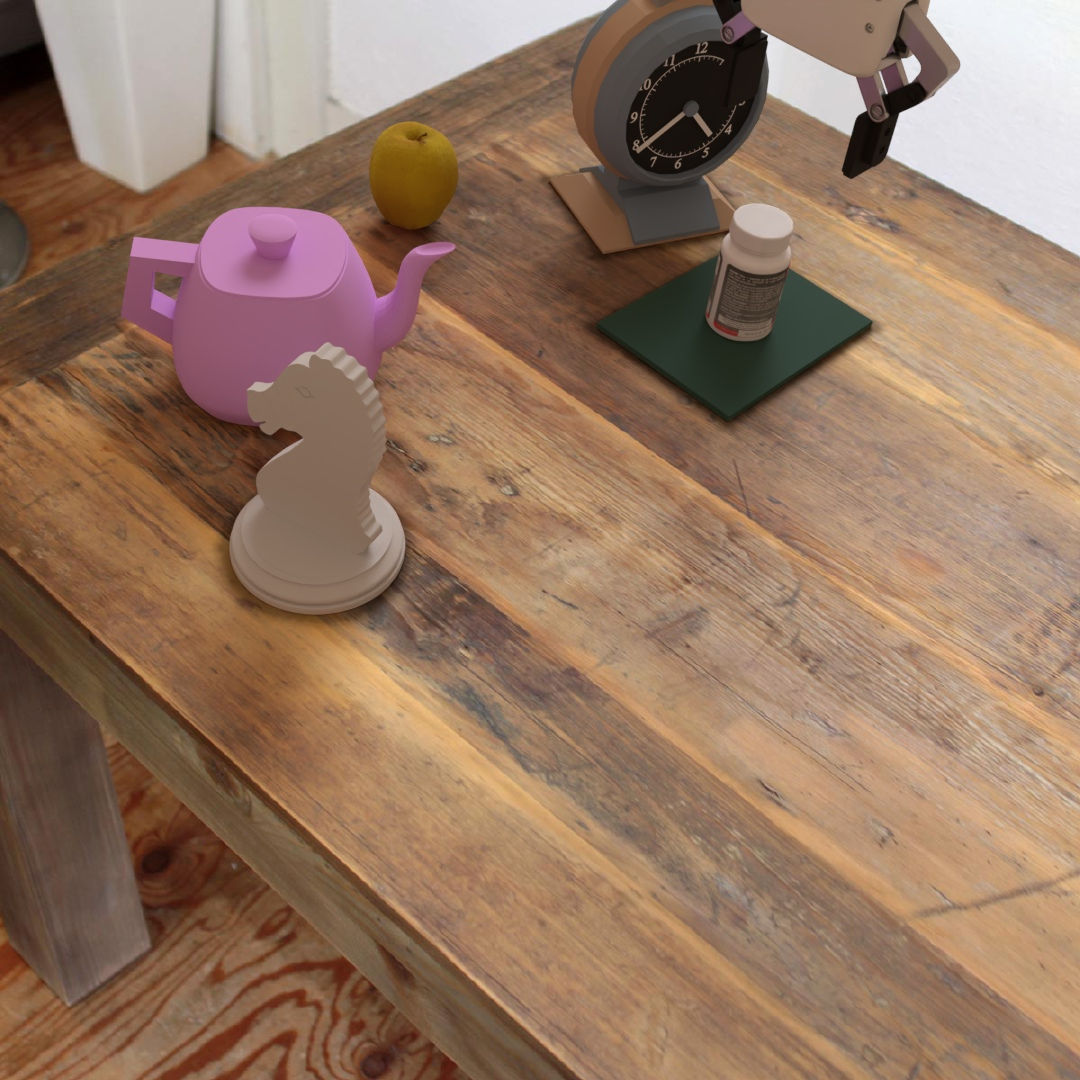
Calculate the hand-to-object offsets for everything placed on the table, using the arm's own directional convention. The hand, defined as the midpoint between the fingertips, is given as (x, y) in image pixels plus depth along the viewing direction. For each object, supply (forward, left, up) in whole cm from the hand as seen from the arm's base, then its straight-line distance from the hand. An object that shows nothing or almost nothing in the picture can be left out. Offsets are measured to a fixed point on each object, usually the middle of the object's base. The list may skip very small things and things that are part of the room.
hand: (797, 134), depth 82 cm
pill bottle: (0, 0, -15) cm, 15 cm away
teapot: (+27, -16, -15) cm, 35 cm away
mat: (0, -1, -15) cm, 15 cm away
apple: (+10, -24, -16) cm, 30 cm away
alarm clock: (-6, -15, -15) cm, 22 cm away
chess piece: (+35, -3, -15) cm, 39 cm away
